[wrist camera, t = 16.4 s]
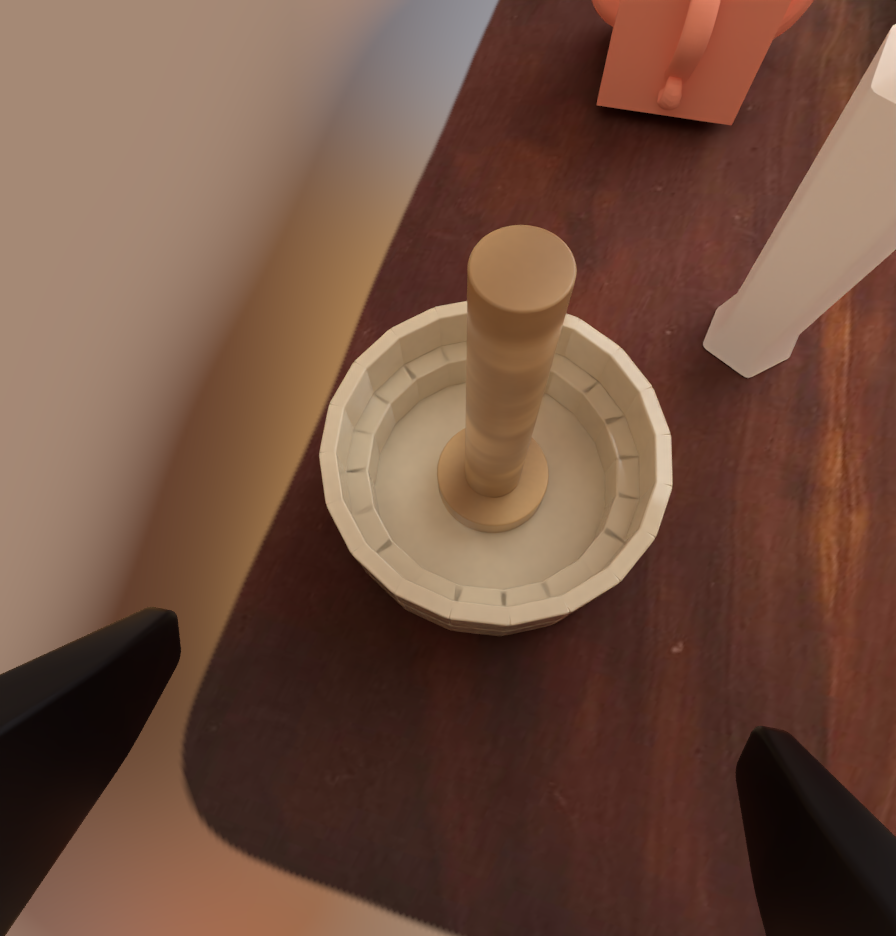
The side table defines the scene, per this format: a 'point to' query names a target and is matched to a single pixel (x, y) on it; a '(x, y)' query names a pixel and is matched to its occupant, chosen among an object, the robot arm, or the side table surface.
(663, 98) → the teapot
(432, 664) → the side table surface
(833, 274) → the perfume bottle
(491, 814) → the side table surface
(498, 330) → the tan post
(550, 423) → the bowl
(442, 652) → the side table surface
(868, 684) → the side table surface
